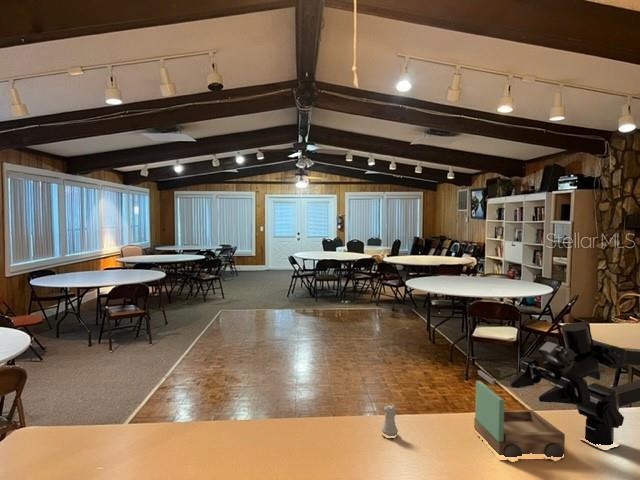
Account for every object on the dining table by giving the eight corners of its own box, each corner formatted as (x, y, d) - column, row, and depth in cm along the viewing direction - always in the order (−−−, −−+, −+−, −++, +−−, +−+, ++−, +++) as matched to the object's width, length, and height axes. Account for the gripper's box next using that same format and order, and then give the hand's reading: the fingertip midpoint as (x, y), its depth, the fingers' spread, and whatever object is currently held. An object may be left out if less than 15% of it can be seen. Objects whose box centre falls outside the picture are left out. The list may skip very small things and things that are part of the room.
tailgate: (479, 417, 113) (480, 367, 113) (503, 441, 100) (504, 384, 100) (473, 417, 113) (473, 367, 113) (496, 441, 100) (497, 384, 100)
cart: (529, 430, 116) (529, 408, 116) (567, 461, 100) (567, 436, 100) (472, 430, 115) (472, 408, 115) (501, 462, 99) (501, 437, 99)
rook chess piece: (385, 440, 109) (385, 409, 109) (378, 432, 113) (378, 403, 113) (401, 438, 110) (401, 408, 110) (393, 430, 114) (394, 401, 114)
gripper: (538, 330, 114) (491, 350, 110) (601, 348, 96) (547, 373, 92) (547, 368, 115) (501, 390, 111) (611, 393, 97) (559, 420, 93)
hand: (524, 392), depth 102 cm, fingers open, 9 cm apart
